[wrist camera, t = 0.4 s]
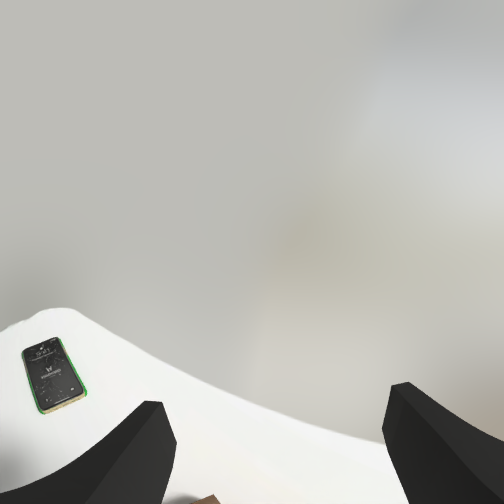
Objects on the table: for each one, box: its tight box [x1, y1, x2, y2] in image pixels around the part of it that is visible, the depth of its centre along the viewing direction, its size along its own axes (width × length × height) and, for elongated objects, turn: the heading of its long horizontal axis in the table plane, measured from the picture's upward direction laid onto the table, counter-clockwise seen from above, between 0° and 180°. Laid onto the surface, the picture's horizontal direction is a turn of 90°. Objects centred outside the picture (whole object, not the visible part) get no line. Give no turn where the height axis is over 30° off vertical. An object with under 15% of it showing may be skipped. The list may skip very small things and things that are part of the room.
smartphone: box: [22, 337, 87, 414], centre depth 33 cm, size 8×1×15 cm
